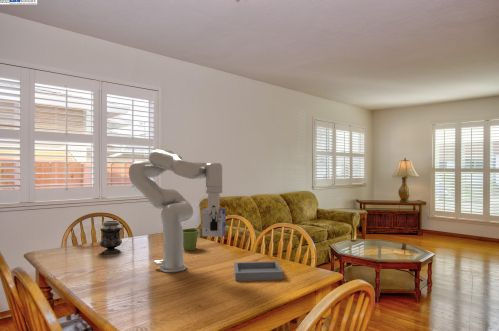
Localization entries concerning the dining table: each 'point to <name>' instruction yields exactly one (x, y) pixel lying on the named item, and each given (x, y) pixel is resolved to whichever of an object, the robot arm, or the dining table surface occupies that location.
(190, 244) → the plant pot
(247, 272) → the trough
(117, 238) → the apothecary jar
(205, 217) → the ink cartridge box
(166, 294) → the dining table surface
